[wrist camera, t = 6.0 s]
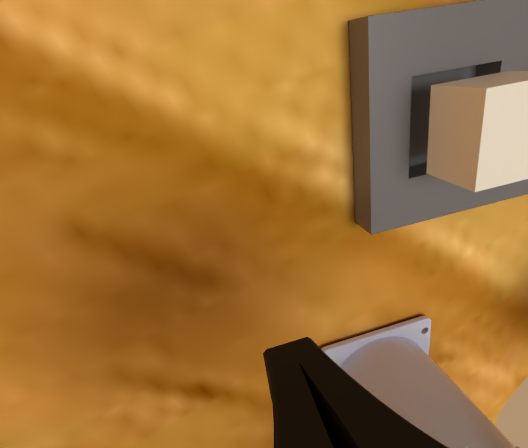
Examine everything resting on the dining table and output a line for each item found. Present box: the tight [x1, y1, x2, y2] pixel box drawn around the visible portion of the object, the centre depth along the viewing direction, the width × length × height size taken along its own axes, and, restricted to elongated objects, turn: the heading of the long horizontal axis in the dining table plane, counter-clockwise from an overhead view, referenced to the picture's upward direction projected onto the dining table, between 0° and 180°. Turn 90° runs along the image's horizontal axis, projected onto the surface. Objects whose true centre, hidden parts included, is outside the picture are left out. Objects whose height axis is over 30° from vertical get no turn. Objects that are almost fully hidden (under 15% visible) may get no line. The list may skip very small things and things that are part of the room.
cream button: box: [426, 71, 528, 192], centre depth 16 cm, size 4×4×3 cm
